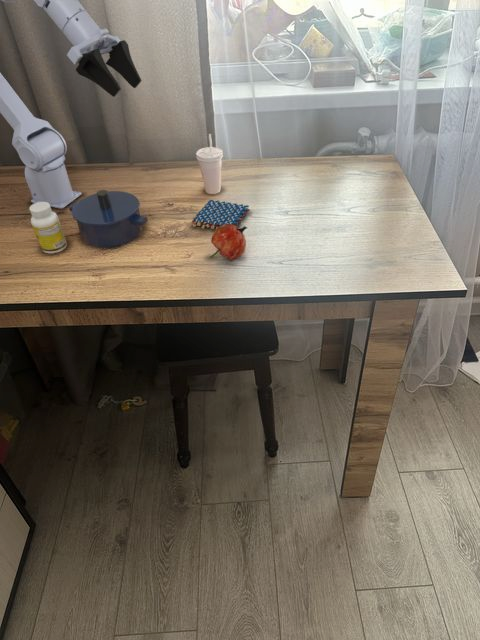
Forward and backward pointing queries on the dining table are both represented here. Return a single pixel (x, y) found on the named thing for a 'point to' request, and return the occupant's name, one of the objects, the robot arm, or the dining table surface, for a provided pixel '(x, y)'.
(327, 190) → the dining table surface
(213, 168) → the smoothie
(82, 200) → the pan lid
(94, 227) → the pan
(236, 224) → the woven mat
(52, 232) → the supplement bottle
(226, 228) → the pomegranate
